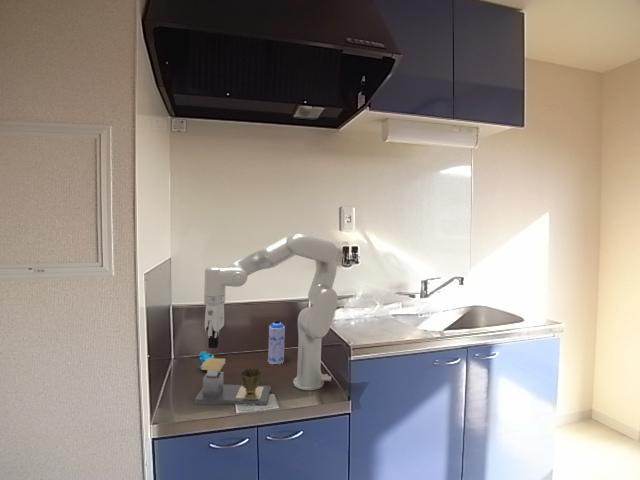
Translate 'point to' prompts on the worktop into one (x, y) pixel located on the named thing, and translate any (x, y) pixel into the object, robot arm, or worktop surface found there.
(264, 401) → the base
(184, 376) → the worktop surface
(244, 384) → the dark brown rounded piece
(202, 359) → the gear
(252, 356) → the worktop surface
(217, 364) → the plate
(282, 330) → the aerosol can
